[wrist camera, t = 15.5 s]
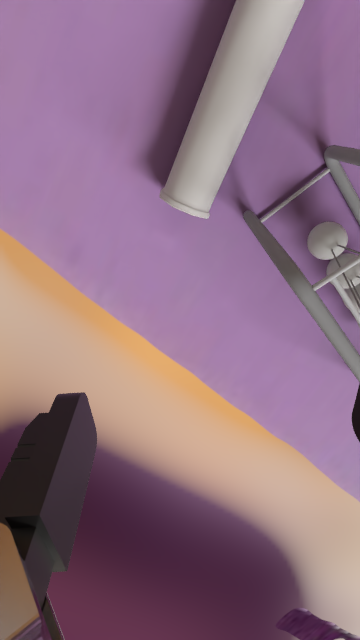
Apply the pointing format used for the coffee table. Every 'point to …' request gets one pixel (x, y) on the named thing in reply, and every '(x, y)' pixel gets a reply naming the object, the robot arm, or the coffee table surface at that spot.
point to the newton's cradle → (323, 257)
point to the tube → (228, 101)
